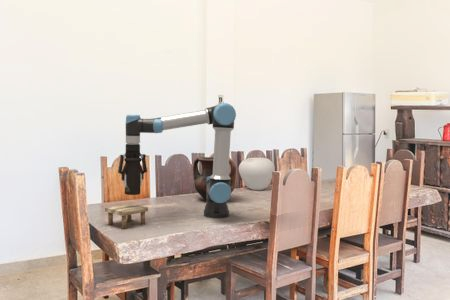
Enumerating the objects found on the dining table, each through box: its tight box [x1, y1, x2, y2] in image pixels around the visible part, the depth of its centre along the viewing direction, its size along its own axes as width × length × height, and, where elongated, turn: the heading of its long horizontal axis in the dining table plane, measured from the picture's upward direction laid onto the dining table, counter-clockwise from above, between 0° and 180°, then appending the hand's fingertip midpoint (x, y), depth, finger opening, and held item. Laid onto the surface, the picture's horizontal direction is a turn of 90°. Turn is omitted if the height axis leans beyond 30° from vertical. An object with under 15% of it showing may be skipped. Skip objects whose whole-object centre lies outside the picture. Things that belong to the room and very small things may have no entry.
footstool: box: [104, 202, 149, 230], centre depth 234 cm, size 16×16×9 cm
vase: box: [238, 157, 276, 191], centre depth 347 cm, size 28×27×25 cm
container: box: [124, 157, 142, 196], centre depth 235 cm, size 9×9×20 cm
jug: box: [192, 156, 237, 203], centre depth 301 cm, size 32×28×30 cm
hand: (132, 186), depth 235 cm, fingers closed on container, 8 cm apart
